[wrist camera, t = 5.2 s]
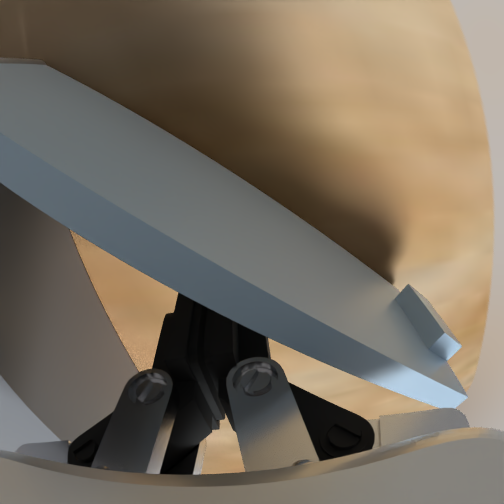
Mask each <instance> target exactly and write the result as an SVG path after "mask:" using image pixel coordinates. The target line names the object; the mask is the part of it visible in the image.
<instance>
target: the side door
mask: <svg viewBox="0 0 504 504" xmlns="http://www.w3.org/2000/svg"><path fill="white" fill-rule="evenodd" d="M0 183H2V184H3V185H4V186H6V187H7V188H9V189H10V190H12V191H13V192H14V193H16V194H17V195H19V196H20V197H22V198H23V199H25V200H26V201H28V202H29V203H30V204H32V205H33V206H35V207H36V208H38V209H39V210H41V211H42V212H44V213H46V214H47V215H49V216H50V217H52V218H53V219H55V220H56V221H58V222H59V223H61V224H63V225H64V226H66V227H67V228H69V229H70V230H72V231H74V232H75V233H77V234H78V235H80V236H82V237H83V238H85V239H86V240H88V241H90V242H91V243H93V244H95V245H96V246H98V247H100V248H101V249H103V250H105V251H106V252H108V253H110V254H111V255H113V256H115V257H116V258H118V259H120V260H122V261H123V262H125V263H127V264H129V265H130V266H132V267H134V268H135V269H137V270H139V271H141V272H143V273H144V274H146V275H148V276H150V277H151V278H153V279H155V280H157V281H159V282H160V283H162V284H164V285H166V286H168V287H170V288H171V289H173V290H175V291H177V292H179V293H181V294H183V295H184V296H186V297H188V298H190V299H192V300H194V301H196V302H198V303H200V304H202V305H203V306H205V307H207V308H209V309H211V310H213V311H215V312H217V313H219V314H221V315H223V316H225V317H227V318H229V319H231V320H233V321H235V322H237V323H239V324H241V325H243V326H245V327H247V328H249V329H251V330H253V331H256V332H258V333H260V334H262V335H264V336H266V337H268V338H270V339H272V340H274V341H277V342H279V343H281V344H283V345H285V346H287V347H290V348H292V349H294V350H296V351H298V352H301V353H303V354H305V355H307V356H310V357H312V358H314V359H316V360H319V361H321V362H323V363H326V364H328V365H330V366H333V367H335V368H337V369H340V370H342V371H344V372H347V373H349V374H352V375H354V376H357V377H359V378H361V379H364V380H366V381H369V382H371V383H374V384H376V385H379V386H381V387H384V388H387V389H389V390H392V391H394V392H397V393H400V394H402V395H405V396H408V397H410V398H413V399H416V400H419V401H421V402H424V403H427V404H430V405H433V406H436V407H439V408H454V409H455V408H456V407H457V406H458V405H460V404H461V403H462V402H463V401H464V400H465V399H467V398H468V396H467V394H466V392H465V391H464V389H463V387H462V386H461V384H460V382H459V380H458V379H457V377H456V376H455V374H454V372H453V371H452V369H451V367H450V366H449V364H448V363H447V360H448V359H449V358H451V357H452V356H453V355H454V354H455V353H456V352H457V351H458V350H459V349H460V348H461V347H462V346H461V344H460V343H459V341H458V340H457V339H456V337H455V336H454V334H453V333H452V332H451V330H450V329H449V328H448V326H447V325H446V324H445V322H444V321H443V320H442V318H441V317H440V316H439V314H438V313H437V312H436V310H435V309H434V308H433V306H432V305H431V304H430V302H429V301H428V300H427V299H426V298H425V297H423V296H422V295H421V294H420V293H419V292H418V291H416V290H415V289H414V288H413V287H412V286H410V285H409V284H408V285H407V286H406V287H405V288H404V289H403V290H402V291H401V292H400V291H399V290H398V289H397V288H395V287H394V286H393V285H392V284H390V283H389V282H388V281H386V280H385V279H384V278H382V277H381V276H380V275H378V274H377V273H376V272H374V271H373V270H372V269H370V268H369V267H368V266H366V265H365V264H364V263H362V262H361V261H360V260H358V259H357V258H356V257H354V256H353V255H352V254H350V253H349V252H348V251H346V250H345V249H343V248H342V247H341V246H339V245H338V244H336V243H335V242H334V241H332V240H331V239H330V238H328V237H327V236H325V235H324V234H323V233H321V232H320V231H318V230H317V229H315V228H314V227H313V226H311V225H310V224H308V223H307V222H305V221H304V220H303V219H301V218H300V217H298V216H297V215H295V214H294V213H292V212H291V211H290V210H288V209H287V208H285V207H284V206H282V205H281V204H279V203H278V202H276V201H275V200H273V199H272V198H270V197H269V196H267V195H266V194H264V193H263V192H261V191H260V190H258V189H257V188H255V187H254V186H252V185H251V184H249V183H248V182H246V181H245V180H243V179H242V178H240V177H239V176H237V175H236V174H234V173H232V172H231V171H229V170H228V169H226V168H225V167H223V166H222V165H220V164H218V163H217V162H215V161H214V160H212V159H211V158H209V157H207V156H206V155H204V154H203V153H201V152H199V151H198V150H196V149H194V148H193V147H191V146H190V145H188V144H186V143H185V142H183V141H181V140H180V139H178V138H177V137H175V136H173V135H172V134H170V133H168V132H167V131H165V130H163V129H162V128H160V127H158V126H156V125H155V124H153V123H151V122H150V121H148V120H146V119H145V118H143V117H141V116H139V115H138V114H136V113H134V112H132V111H131V110H129V109H127V108H125V107H124V106H122V105H120V104H118V103H117V102H115V101H113V100H111V99H109V98H108V97H106V96H104V95H102V94H100V93H99V92H97V91H95V90H93V89H91V88H89V87H87V86H86V85H84V84H82V83H80V82H78V81H76V80H74V79H72V78H71V77H69V76H67V75H65V74H63V73H61V72H59V71H57V70H55V69H53V68H51V67H49V66H47V65H46V63H45V62H44V61H43V60H38V59H24V58H0Z"/></svg>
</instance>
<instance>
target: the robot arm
mask: <svg viewBox="0 0 504 504" xmlns="http://www.w3.org/2000/svg"><path fill="white" fill-rule="evenodd" d="M225 413H226V415H227V418H228V420H229V422H230V424H231V426H232V429H233V430H234V431H235V432H236V433H237V438H238V442H239V447H240V451H241V455H242V460H243V464H244V468H245V472H240V473H225V474H202V475H200V474H201V469H202V464H203V459H204V454H205V449H206V437H207V436H208V435H209V434H210V433H212V430H216V429H219V425H220V420H224V419H225ZM0 504H504V431H501V430H497V429H493V428H482V427H474V428H470V427H469V423H468V421H467V418H466V416H465V415H464V414H463V413H462V412H460V411H459V410H457V409H454V408H440V409H433V410H427V411H420V412H412V413H404V414H394V415H384V416H379V419H374V420H366V419H364V418H363V417H361V416H359V415H357V414H355V413H352V412H350V411H348V410H346V409H343V408H341V407H339V406H337V405H335V404H333V403H330V402H328V401H326V400H324V399H322V398H320V397H318V396H316V395H314V394H312V393H309V392H307V391H305V390H303V389H301V388H299V387H297V386H295V385H293V384H291V383H289V382H288V381H287V378H286V375H285V373H284V370H283V369H282V367H281V366H280V364H278V363H277V362H276V361H274V360H272V359H271V356H270V349H269V342H268V337H266V336H264V335H262V334H260V333H258V332H256V331H253V330H251V329H249V328H247V327H245V326H243V325H241V324H239V323H237V322H235V321H233V320H231V319H229V318H227V317H225V316H223V315H221V314H219V313H217V312H215V311H213V310H211V309H209V308H207V307H205V306H203V305H202V304H200V303H198V302H196V301H194V300H192V299H190V298H188V297H186V296H184V295H183V294H181V293H178V297H177V301H176V306H175V310H174V313H168V314H166V315H165V318H164V321H163V325H162V329H161V333H160V337H159V341H158V346H157V350H156V354H155V358H154V363H153V367H152V369H147V370H144V371H141V372H139V373H137V374H135V375H134V376H133V377H132V378H130V379H129V380H128V382H127V383H126V385H125V387H124V389H123V391H122V394H121V396H120V398H119V400H118V403H117V405H116V407H115V410H114V411H113V412H112V413H111V414H109V415H108V416H106V417H105V418H104V419H102V420H101V421H99V422H98V423H97V424H95V425H94V426H92V427H91V428H90V429H88V430H87V431H85V432H84V433H83V434H81V435H80V436H78V437H77V438H76V439H75V440H74V441H73V442H72V443H71V442H70V441H69V440H64V441H54V442H41V443H27V444H23V445H21V446H20V447H19V448H18V449H17V450H16V452H10V451H4V450H0Z"/></svg>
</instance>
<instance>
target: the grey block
mask: <svg viewBox="0 0 504 504" xmlns="http://www.w3.org/2000/svg"><path fill="white" fill-rule="evenodd" d="M137 373H139V372H138V370H137V368H136V367H135V365H134V363H133V361H132V360H131V358H130V356H129V355H128V353H127V351H126V349H125V348H124V346H123V344H122V342H121V340H120V339H119V337H118V335H117V333H116V331H115V329H114V327H113V326H112V324H111V322H110V320H109V318H108V316H107V314H106V312H105V310H104V308H103V306H102V304H101V302H100V300H99V298H98V296H97V294H96V291H95V289H94V287H93V285H92V283H91V281H90V279H89V276H88V274H87V272H86V270H85V267H84V265H83V263H82V260H81V258H80V256H79V253H78V251H77V248H76V246H75V243H74V241H73V238H72V236H71V233H70V231H69V228H67V227H66V226H64V225H63V224H61V223H59V222H58V221H56V220H55V219H53V218H52V217H50V216H49V215H47V214H46V213H44V212H42V211H41V210H39V209H38V208H36V207H35V206H33V205H32V204H30V203H29V202H28V201H26V200H25V199H23V198H22V197H20V196H19V195H17V194H16V193H14V192H13V191H12V190H10V189H9V188H7V187H6V186H4V185H3V184H2V183H0V450H4V451H10V452H16V450H17V449H18V448H19V447H20V446H21V445H23V444H27V443H41V442H54V441H64V440H69V441H70V442H71V443H72V442H73V441H74V440H75V439H76V438H77V437H78V436H80V435H81V434H83V433H84V432H85V431H87V430H88V429H90V428H91V427H92V426H94V425H95V424H97V423H98V422H99V421H101V420H102V419H104V418H105V417H106V416H108V415H109V414H111V413H112V412H113V411H114V410H115V407H116V405H117V403H118V400H119V398H120V396H121V394H122V391H123V389H124V387H125V385H126V383H127V382H128V380H129V379H130V378H132V377H133V376H134V375H135V374H137Z"/></svg>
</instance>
